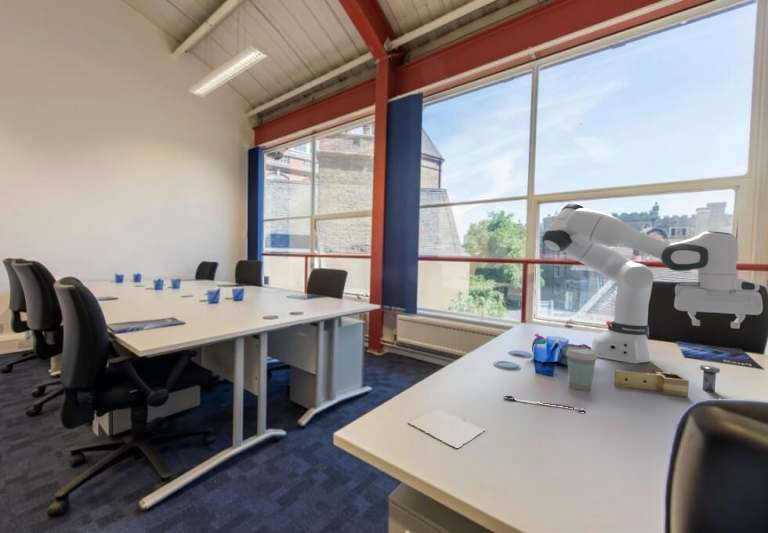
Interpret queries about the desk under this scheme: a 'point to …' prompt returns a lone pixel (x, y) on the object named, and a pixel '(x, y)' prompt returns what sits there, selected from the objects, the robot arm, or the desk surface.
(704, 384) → the hinge pin
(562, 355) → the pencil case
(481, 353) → the desk surface
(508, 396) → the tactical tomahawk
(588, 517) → the desk surface
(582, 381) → the coffee cup
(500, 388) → the desk surface
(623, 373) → the hinge
